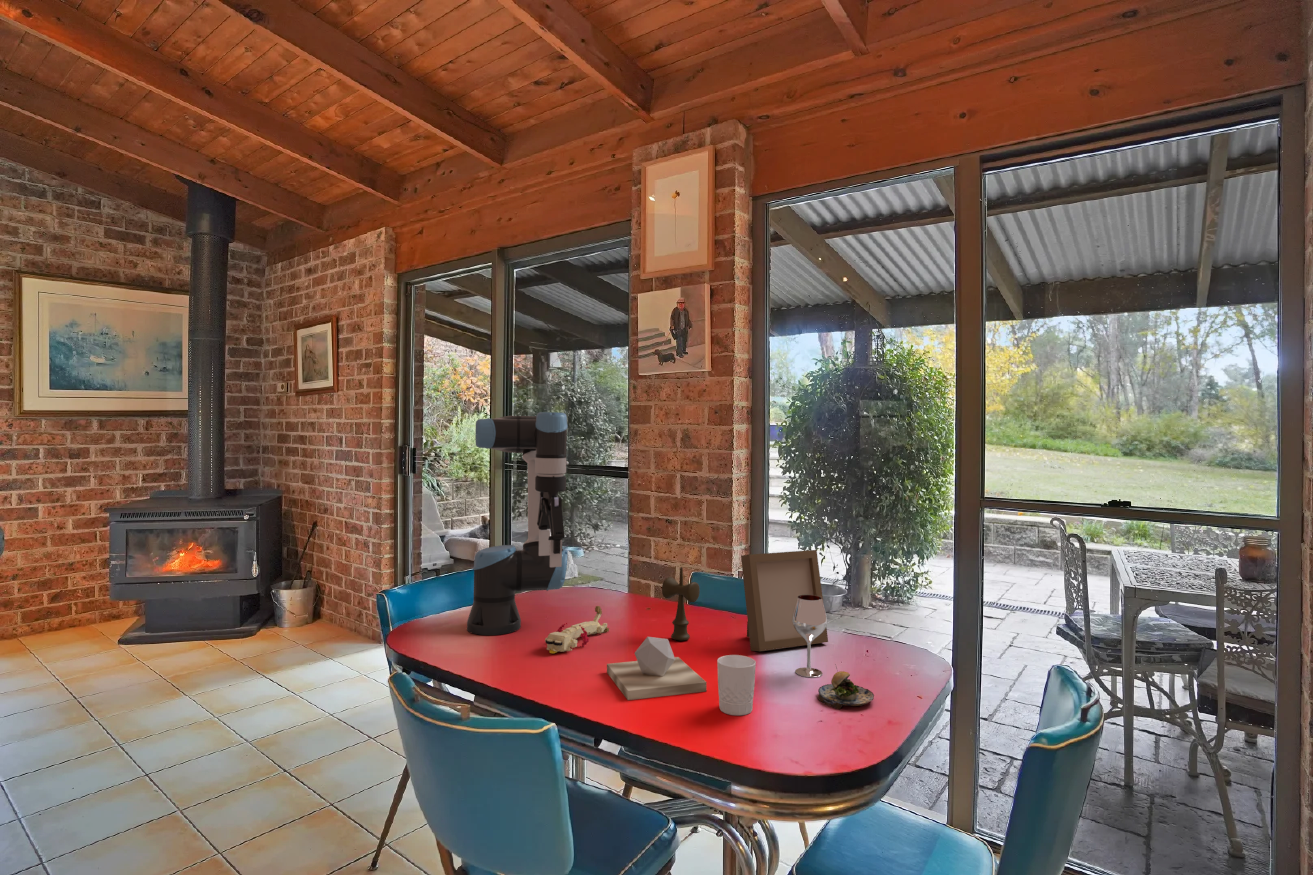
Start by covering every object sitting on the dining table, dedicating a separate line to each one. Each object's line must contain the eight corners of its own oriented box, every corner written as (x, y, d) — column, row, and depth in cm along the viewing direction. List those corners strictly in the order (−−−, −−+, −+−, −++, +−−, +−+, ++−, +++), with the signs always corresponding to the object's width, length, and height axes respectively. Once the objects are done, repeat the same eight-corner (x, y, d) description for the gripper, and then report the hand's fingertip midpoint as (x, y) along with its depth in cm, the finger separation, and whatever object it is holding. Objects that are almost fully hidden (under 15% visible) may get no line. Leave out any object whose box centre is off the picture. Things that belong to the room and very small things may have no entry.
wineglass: (806, 681, 160) (807, 603, 160) (784, 670, 167) (785, 595, 167) (833, 675, 164) (834, 599, 164) (810, 665, 171) (811, 592, 171)
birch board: (606, 672, 164) (606, 663, 164) (678, 665, 170) (678, 656, 170) (627, 700, 147) (627, 690, 147) (706, 691, 153) (706, 682, 153)
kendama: (673, 633, 197) (674, 563, 197) (700, 640, 191) (701, 567, 191) (660, 638, 192) (660, 566, 192) (687, 645, 186) (688, 570, 186)
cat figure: (584, 633, 201) (533, 650, 178) (586, 603, 201) (535, 615, 178) (615, 638, 196) (566, 656, 174) (616, 607, 197) (568, 620, 174)
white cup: (713, 702, 147) (714, 655, 147) (750, 701, 147) (751, 654, 147) (720, 717, 139) (721, 667, 139) (759, 716, 139) (759, 666, 139)
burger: (841, 715, 141) (841, 678, 141) (806, 695, 152) (806, 661, 152) (887, 706, 146) (887, 671, 146) (850, 687, 157) (850, 654, 157)
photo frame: (828, 645, 187) (829, 553, 187) (759, 655, 179) (760, 558, 178) (795, 630, 201) (796, 544, 201) (730, 639, 192) (731, 549, 192)
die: (680, 673, 160) (664, 634, 165) (679, 665, 153) (662, 625, 157) (647, 687, 159) (632, 647, 164) (644, 680, 152) (629, 638, 156)
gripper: (578, 479, 160) (576, 570, 161) (555, 470, 183) (553, 550, 184) (545, 480, 157) (544, 572, 158) (526, 470, 181) (525, 551, 181)
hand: (549, 560), depth 171 cm, fingers open, 13 cm apart
